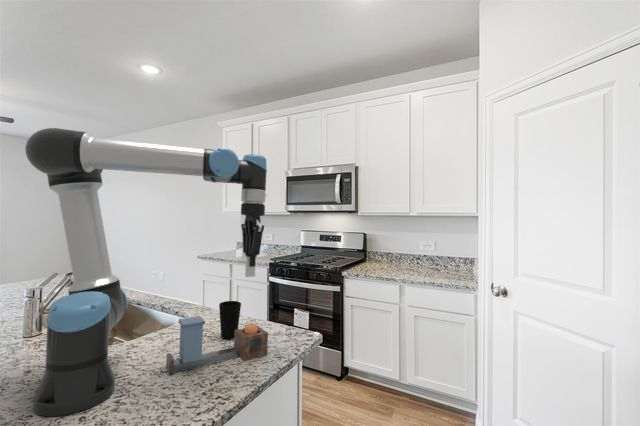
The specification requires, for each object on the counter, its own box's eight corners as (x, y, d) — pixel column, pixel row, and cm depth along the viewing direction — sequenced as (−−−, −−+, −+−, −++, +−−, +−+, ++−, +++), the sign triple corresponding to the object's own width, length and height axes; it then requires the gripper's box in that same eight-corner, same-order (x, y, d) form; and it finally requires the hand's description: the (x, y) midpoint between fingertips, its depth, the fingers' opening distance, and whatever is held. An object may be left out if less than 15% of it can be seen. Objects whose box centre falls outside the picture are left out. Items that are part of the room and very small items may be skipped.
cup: (226, 342, 108) (227, 307, 108) (213, 337, 113) (214, 303, 113) (244, 336, 114) (245, 303, 114) (231, 331, 119) (232, 299, 119)
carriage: (181, 364, 86) (183, 325, 87) (177, 356, 91) (178, 319, 91) (203, 359, 90) (205, 321, 90) (198, 352, 94) (199, 316, 95)
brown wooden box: (243, 361, 94) (244, 338, 94) (233, 351, 101) (234, 329, 101) (267, 355, 99) (268, 333, 99) (256, 346, 106) (257, 325, 106)
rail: (169, 375, 85) (170, 360, 85) (166, 367, 89) (166, 353, 89) (243, 357, 97) (243, 344, 97) (237, 351, 101) (237, 339, 101)
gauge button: (247, 341, 97) (247, 329, 97) (242, 337, 101) (242, 325, 101) (259, 339, 100) (259, 326, 100) (254, 335, 103) (254, 323, 103)
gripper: (272, 203, 98) (269, 279, 97) (255, 204, 108) (252, 272, 108) (250, 201, 93) (246, 281, 93) (234, 202, 104) (231, 273, 103)
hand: (250, 276), depth 100 cm, fingers closed
